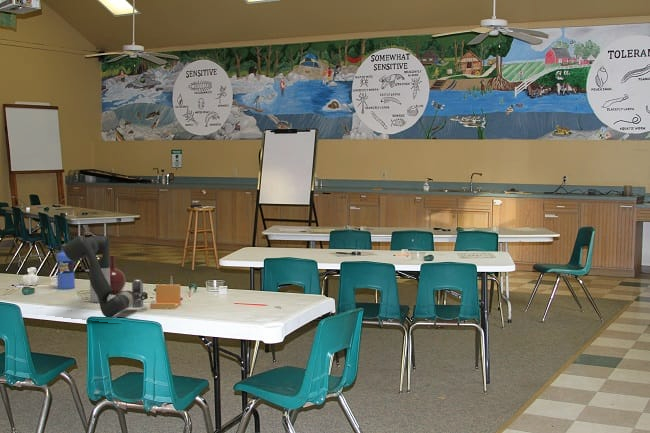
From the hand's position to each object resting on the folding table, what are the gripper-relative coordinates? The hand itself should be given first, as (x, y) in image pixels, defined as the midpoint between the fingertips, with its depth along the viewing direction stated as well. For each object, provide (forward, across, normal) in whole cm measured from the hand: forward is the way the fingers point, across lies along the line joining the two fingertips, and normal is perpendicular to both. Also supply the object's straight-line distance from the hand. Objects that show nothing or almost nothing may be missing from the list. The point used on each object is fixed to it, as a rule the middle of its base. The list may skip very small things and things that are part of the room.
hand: (136, 293), depth 395 cm
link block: (+2, 0, +7) cm, 7 cm away
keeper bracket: (+1, -14, +7) cm, 16 cm away
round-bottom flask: (+37, +25, +7) cm, 45 cm away
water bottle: (+51, +57, +7) cm, 77 cm away
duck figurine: (+61, +82, +7) cm, 102 cm away
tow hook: (+20, -13, +7) cm, 25 cm away
